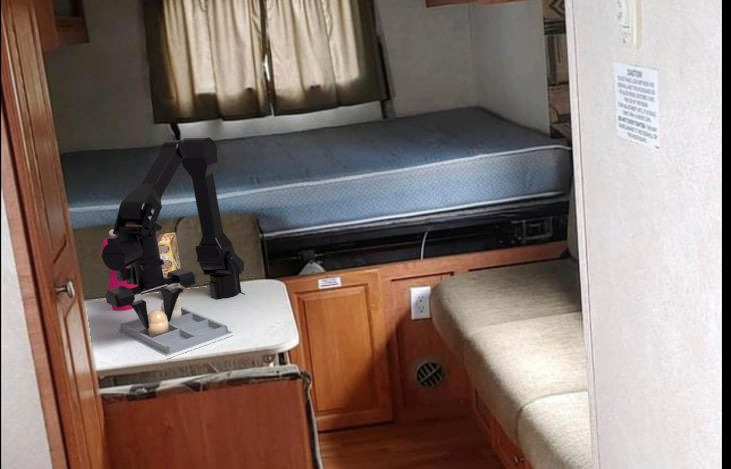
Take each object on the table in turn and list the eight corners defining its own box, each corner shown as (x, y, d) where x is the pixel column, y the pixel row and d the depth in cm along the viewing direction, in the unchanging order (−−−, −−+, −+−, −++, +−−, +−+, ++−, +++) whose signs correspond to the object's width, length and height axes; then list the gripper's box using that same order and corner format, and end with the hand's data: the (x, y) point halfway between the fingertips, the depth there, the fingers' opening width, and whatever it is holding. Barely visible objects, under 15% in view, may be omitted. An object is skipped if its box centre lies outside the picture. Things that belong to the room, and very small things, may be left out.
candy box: (180, 302, 231) (170, 241, 227) (163, 304, 231) (153, 243, 227) (185, 290, 240) (176, 231, 236) (168, 292, 240) (159, 233, 235)
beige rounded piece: (163, 328, 210) (159, 305, 208) (173, 332, 206) (169, 309, 205) (145, 334, 207) (141, 311, 206) (154, 338, 204) (151, 315, 202)
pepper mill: (133, 314, 226) (119, 233, 220) (105, 315, 227) (91, 234, 222) (146, 303, 232) (132, 224, 227) (118, 304, 234) (105, 226, 229)
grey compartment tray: (181, 313, 223) (179, 304, 222) (233, 335, 205) (231, 325, 205) (117, 334, 213) (116, 324, 213) (166, 359, 196) (164, 349, 195)
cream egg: (176, 315, 219) (173, 293, 218) (185, 319, 216) (182, 297, 215) (159, 320, 217) (155, 299, 215) (168, 325, 214) (165, 303, 212)
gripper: (167, 239, 214) (177, 304, 218) (89, 261, 203) (101, 329, 207) (192, 247, 205) (202, 315, 210) (111, 270, 194) (124, 341, 198)
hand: (157, 324), depth 206 cm, fingers open, 5 cm apart
